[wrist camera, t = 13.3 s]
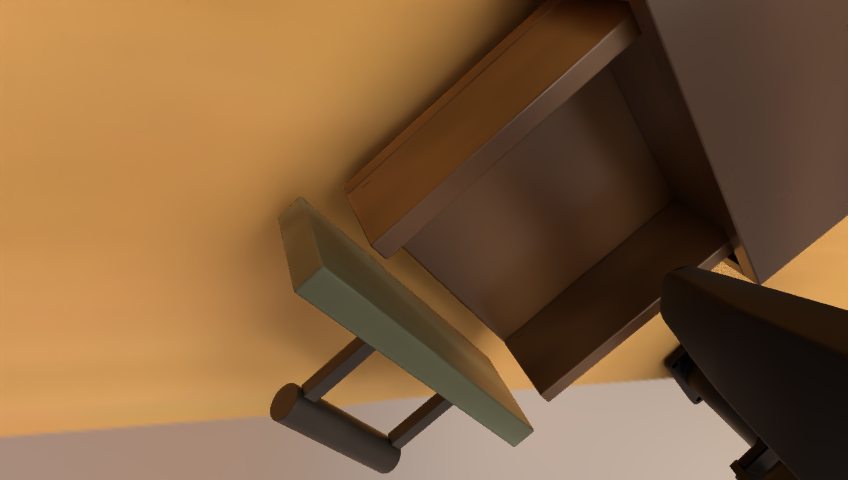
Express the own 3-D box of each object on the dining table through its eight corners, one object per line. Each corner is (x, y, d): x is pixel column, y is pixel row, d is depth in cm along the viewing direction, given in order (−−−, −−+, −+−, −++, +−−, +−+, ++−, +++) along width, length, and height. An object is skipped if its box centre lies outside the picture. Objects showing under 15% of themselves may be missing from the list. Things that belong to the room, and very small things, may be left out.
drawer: (402, 429, 27) (434, 513, 23) (186, 300, 20) (179, 394, 16) (680, 197, 26) (763, 246, 22) (563, -48, 18) (661, -39, 14)
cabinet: (650, 213, 27) (759, 286, 21) (513, -38, 18) (637, -20, 13) (889, 12, 25) (1070, 37, 20) (861, -363, 17) (1164, -494, 11)
